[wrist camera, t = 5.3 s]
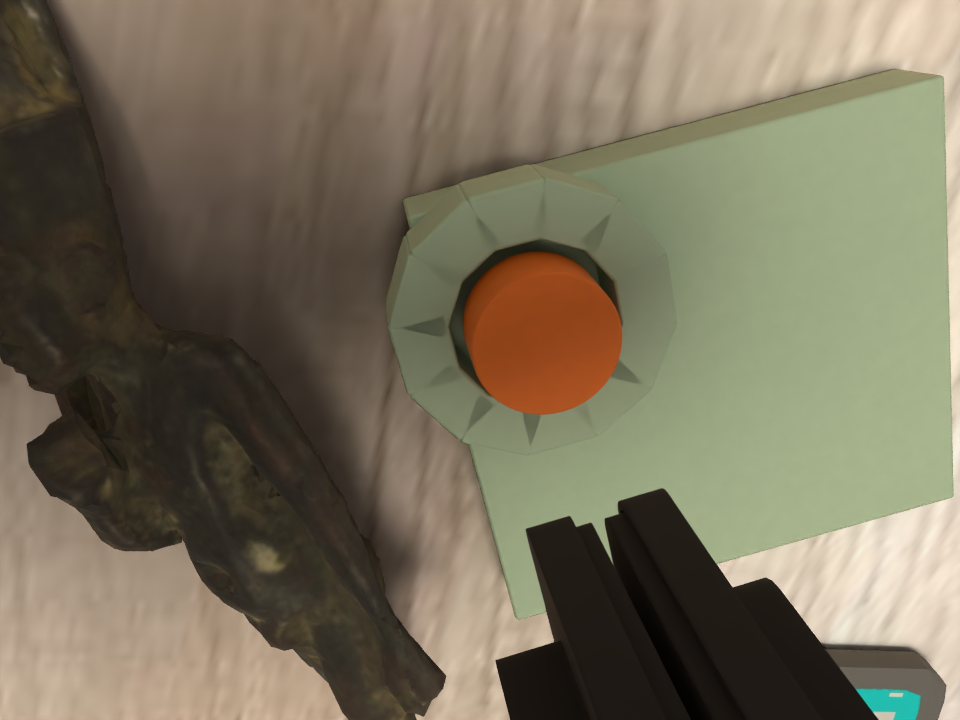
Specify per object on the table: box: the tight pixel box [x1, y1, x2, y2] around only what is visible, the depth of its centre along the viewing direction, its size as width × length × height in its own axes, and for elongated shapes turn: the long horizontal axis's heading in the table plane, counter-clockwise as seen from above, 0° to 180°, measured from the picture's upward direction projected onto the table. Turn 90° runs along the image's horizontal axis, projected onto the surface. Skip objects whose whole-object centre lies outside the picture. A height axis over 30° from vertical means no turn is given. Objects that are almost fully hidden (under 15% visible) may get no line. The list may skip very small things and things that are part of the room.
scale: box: [386, 69, 954, 620], centre depth 22 cm, size 13×12×4 cm
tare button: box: [463, 251, 622, 415], centre depth 18 cm, size 3×3×2 cm
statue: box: [0, 0, 446, 720], centre depth 19 cm, size 6×6×20 cm
